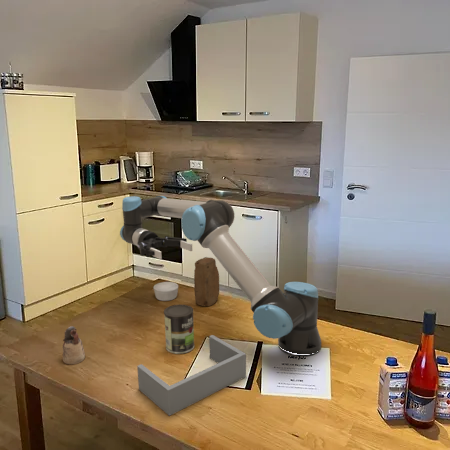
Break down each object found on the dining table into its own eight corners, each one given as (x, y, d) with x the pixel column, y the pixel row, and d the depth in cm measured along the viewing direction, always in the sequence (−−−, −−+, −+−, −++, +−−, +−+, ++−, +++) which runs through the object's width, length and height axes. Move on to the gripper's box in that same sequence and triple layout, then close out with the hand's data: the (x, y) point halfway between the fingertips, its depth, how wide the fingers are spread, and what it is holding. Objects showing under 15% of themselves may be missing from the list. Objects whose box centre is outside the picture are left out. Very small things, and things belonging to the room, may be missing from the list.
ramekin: (177, 302, 203) (176, 290, 201) (152, 302, 203) (151, 291, 202) (180, 292, 214) (179, 281, 212) (156, 292, 214) (155, 281, 212)
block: (206, 308, 195) (205, 264, 190) (192, 304, 200) (191, 260, 195) (222, 300, 204) (221, 257, 199) (209, 296, 208) (208, 254, 203)
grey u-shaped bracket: (138, 389, 140) (137, 365, 138) (213, 356, 158) (212, 334, 156) (169, 415, 127) (168, 390, 125) (245, 376, 146) (245, 353, 144)
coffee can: (200, 344, 166) (199, 308, 163) (182, 357, 158) (181, 319, 154) (177, 337, 171) (176, 301, 168) (159, 349, 163) (157, 312, 159)
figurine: (78, 351, 162) (75, 320, 159) (89, 358, 157) (85, 326, 154) (59, 359, 157) (55, 327, 154) (69, 367, 152) (65, 334, 149)
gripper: (172, 242, 192) (203, 254, 176) (118, 255, 176) (147, 269, 161) (171, 225, 190) (203, 235, 175) (116, 236, 175) (146, 248, 159)
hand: (176, 251), depth 168 cm, fingers open, 13 cm apart
